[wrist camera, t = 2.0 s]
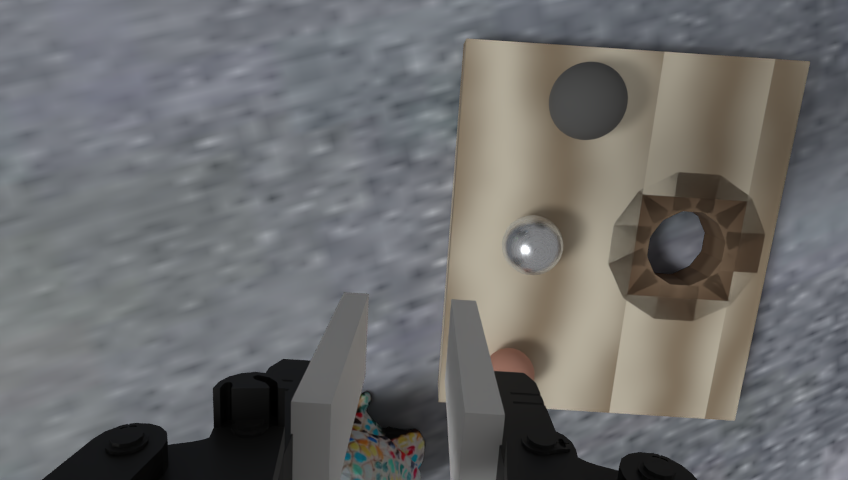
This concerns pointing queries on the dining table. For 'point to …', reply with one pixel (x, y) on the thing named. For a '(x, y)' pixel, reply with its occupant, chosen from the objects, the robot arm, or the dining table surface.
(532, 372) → the pink rubber ball
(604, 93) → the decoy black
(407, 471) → the figurine
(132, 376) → the dining table surface
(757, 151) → the board
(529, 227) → the steel ball
